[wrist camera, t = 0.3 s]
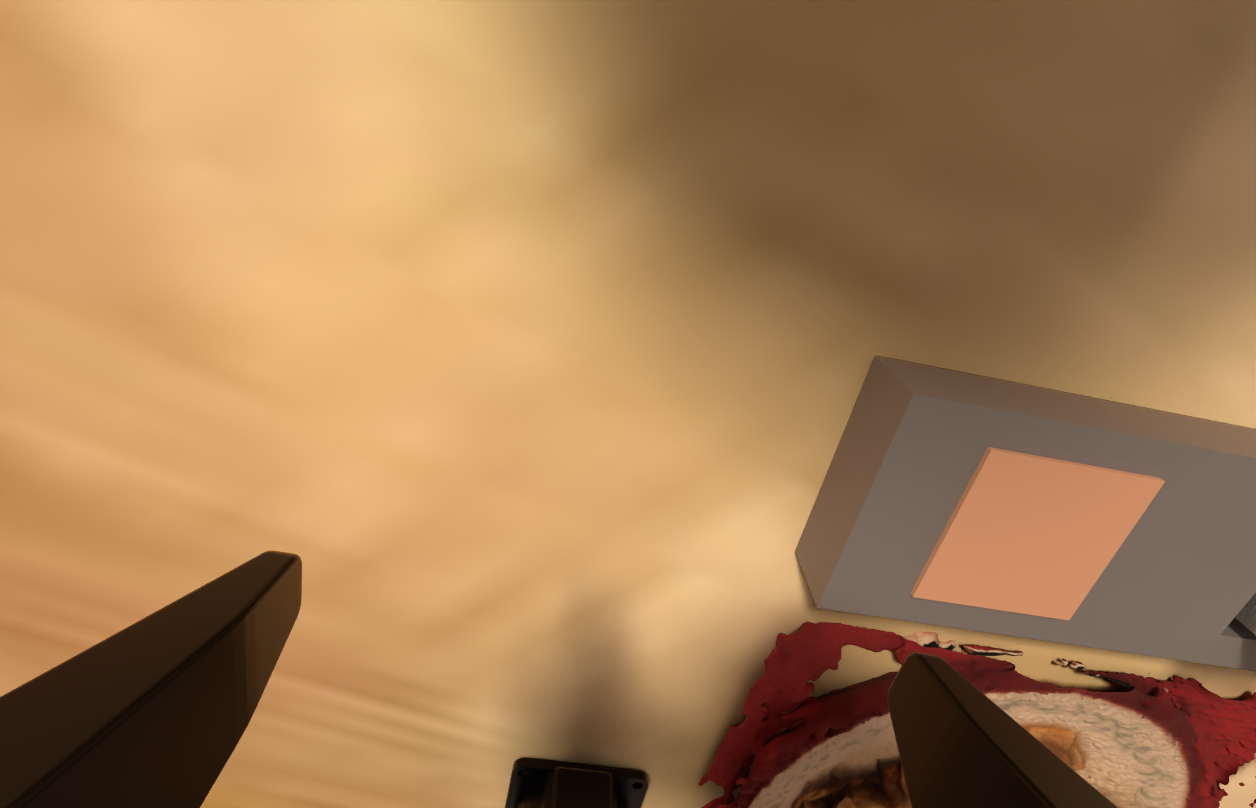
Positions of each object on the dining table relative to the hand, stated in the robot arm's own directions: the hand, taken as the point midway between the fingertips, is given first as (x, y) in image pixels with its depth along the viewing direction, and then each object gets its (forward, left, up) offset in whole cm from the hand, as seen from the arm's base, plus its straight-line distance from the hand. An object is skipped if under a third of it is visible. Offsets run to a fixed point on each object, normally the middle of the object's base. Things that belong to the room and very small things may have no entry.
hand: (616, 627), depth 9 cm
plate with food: (-23, -22, -14) cm, 34 cm away
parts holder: (-3, -21, -13) cm, 25 cm away
